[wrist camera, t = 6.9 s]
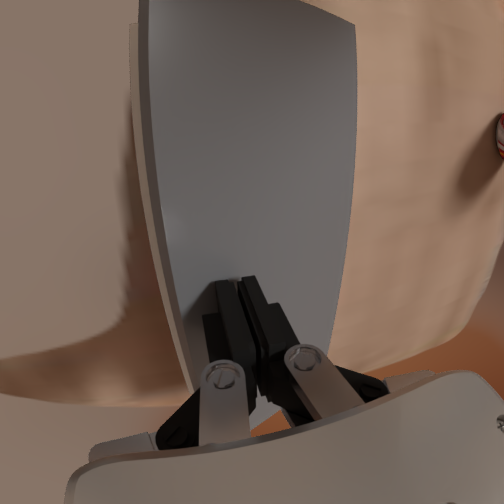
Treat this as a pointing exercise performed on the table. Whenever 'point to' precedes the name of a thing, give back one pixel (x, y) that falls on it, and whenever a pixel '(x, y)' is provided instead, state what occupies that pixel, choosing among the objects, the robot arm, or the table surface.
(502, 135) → the soda can
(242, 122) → the lid
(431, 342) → the table surface
